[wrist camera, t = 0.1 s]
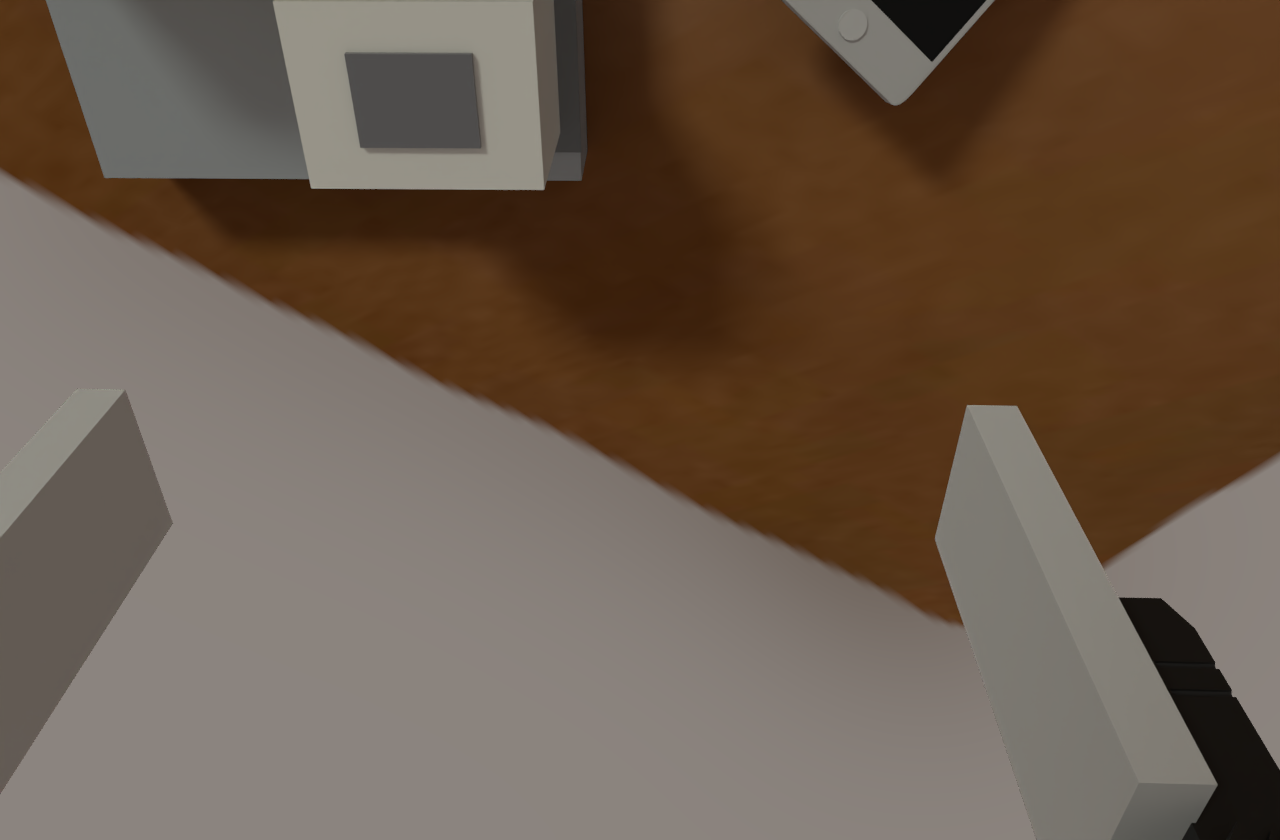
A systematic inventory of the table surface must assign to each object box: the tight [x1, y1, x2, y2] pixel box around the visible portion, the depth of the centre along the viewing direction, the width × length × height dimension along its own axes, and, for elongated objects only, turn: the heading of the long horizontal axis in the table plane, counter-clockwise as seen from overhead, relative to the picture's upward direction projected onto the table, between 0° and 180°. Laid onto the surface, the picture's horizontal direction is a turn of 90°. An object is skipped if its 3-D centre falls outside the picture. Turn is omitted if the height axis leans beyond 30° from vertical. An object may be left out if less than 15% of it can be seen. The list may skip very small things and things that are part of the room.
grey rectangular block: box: [273, 0, 560, 190], centre depth 34 cm, size 6×8×6 cm
